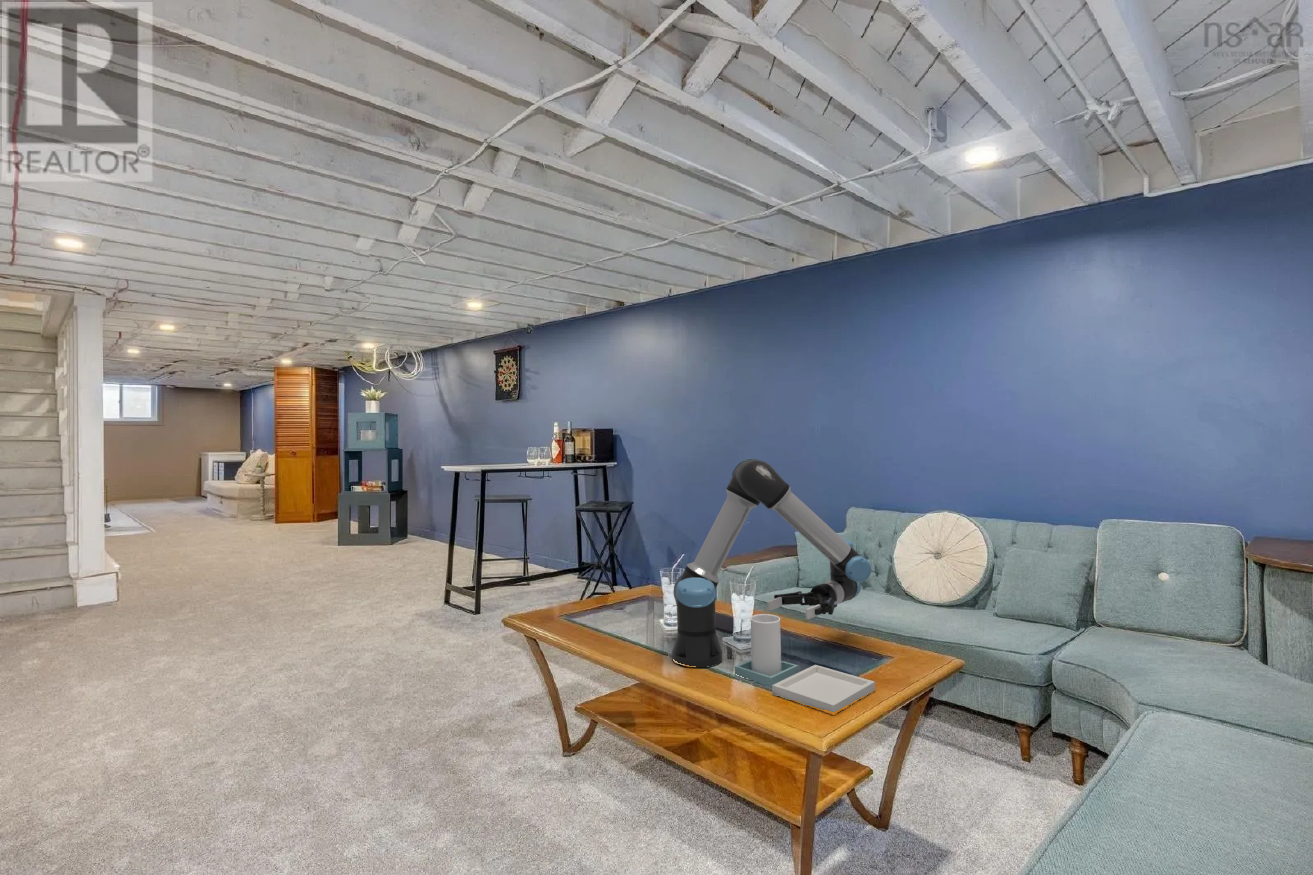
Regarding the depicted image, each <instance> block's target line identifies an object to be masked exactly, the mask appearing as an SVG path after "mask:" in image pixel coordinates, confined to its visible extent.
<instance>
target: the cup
mask: <svg viewBox="0 0 1313 875" xmlns="http://www.w3.org/2000/svg"><path fill="white" fill-rule="evenodd" d="M750 622H751V628H750V650H751V651H750V653H751V656H750V657H751V658H750V660H752V671H755V672H758V673H761V674H764V675H767V676H773V675H775V674H777V673H779V672H781V671H782V670H781V661H782V645H781V644H782V643H781V642H782V640H781V639H782V638H781V636H782V635H781V618H780V616H778V615H776V614H771V613H770V614H769V613H759V614H754V615H751V616H750Z"/></svg>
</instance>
